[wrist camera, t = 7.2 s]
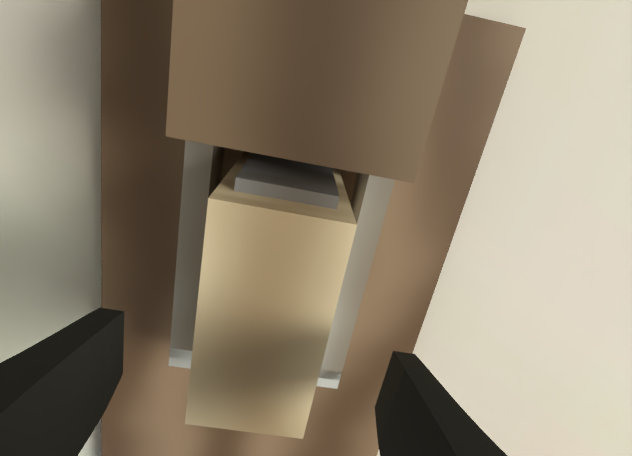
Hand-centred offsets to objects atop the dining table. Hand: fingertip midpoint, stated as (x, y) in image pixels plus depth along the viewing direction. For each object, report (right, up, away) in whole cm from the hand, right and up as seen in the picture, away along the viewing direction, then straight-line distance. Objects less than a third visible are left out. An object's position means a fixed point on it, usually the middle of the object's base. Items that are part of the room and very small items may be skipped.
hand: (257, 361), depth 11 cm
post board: (-1, 0, +10) cm, 10 cm away
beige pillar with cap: (0, +3, +8) cm, 8 cm away
